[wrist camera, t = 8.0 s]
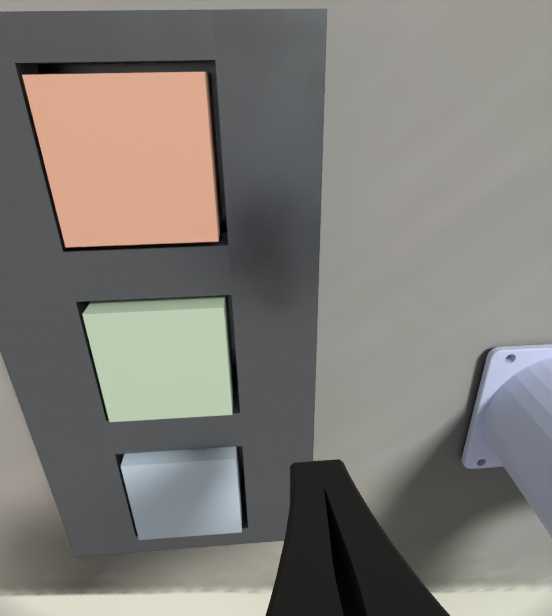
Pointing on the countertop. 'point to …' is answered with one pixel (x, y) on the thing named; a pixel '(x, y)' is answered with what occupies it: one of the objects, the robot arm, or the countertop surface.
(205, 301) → the sage button
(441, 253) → the countertop surface
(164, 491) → the blue-grey button
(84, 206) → the terracotta button
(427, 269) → the countertop surface
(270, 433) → the button panel
